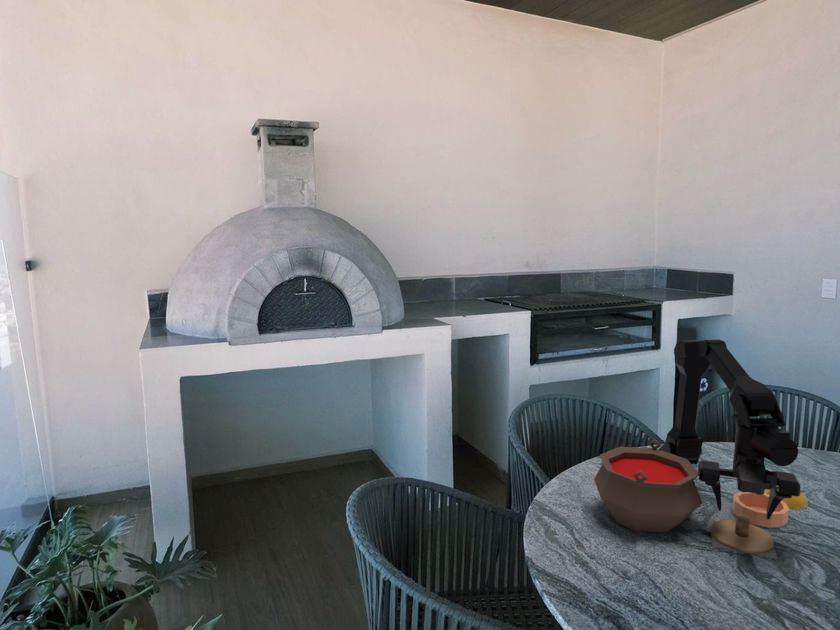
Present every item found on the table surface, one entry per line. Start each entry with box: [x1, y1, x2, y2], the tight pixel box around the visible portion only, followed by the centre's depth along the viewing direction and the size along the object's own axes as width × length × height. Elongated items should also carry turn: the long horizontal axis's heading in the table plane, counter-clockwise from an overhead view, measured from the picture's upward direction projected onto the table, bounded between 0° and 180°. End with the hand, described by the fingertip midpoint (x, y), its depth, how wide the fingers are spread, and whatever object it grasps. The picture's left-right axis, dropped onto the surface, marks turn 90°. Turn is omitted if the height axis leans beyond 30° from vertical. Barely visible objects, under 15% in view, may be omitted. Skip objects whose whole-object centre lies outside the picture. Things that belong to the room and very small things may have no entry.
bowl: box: [732, 491, 790, 529], centre depth 136 cm, size 11×11×4 cm
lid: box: [710, 516, 775, 554], centre depth 126 cm, size 12×12×4 cm
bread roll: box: [764, 489, 809, 510], centre depth 143 cm, size 8×9×4 cm
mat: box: [708, 519, 778, 560], centre depth 127 cm, size 12×12×1 cm
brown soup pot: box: [593, 438, 703, 533], centre depth 135 cm, size 24×24×16 cm
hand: (743, 514), depth 126 cm, fingers open, 9 cm apart
